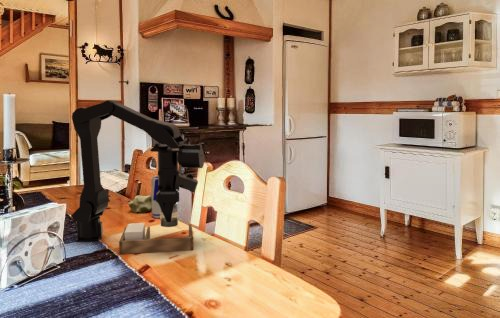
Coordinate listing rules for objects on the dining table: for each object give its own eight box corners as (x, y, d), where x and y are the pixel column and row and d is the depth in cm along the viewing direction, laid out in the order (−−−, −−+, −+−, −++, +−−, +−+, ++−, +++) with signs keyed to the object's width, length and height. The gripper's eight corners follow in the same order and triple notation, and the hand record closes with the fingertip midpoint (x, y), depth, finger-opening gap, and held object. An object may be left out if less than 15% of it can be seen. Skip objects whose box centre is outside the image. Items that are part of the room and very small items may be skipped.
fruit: (158, 213, 161) (159, 194, 158) (141, 220, 153) (142, 200, 151) (141, 206, 165) (142, 187, 163) (123, 213, 157) (124, 193, 155)
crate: (119, 254, 111) (119, 241, 110) (125, 238, 125) (125, 227, 124) (193, 249, 114) (193, 237, 114) (191, 234, 128) (191, 224, 128)
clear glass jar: (160, 227, 117) (159, 207, 116) (160, 222, 122) (160, 203, 121) (178, 226, 118) (177, 206, 117) (178, 222, 123) (177, 202, 122)
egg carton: (125, 251, 113) (124, 232, 113) (128, 241, 122) (128, 223, 122) (142, 250, 114) (142, 231, 114) (145, 240, 123) (144, 222, 122)
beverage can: (162, 219, 147) (161, 178, 145) (149, 218, 148) (148, 177, 146) (168, 215, 152) (167, 175, 150) (155, 214, 153) (154, 175, 151)
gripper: (197, 171, 110) (197, 227, 112) (194, 162, 128) (195, 210, 130) (155, 172, 108) (156, 229, 110) (158, 163, 126) (159, 212, 128)
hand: (168, 219), depth 120 cm, fingers closed on clear glass jar, 5 cm apart
